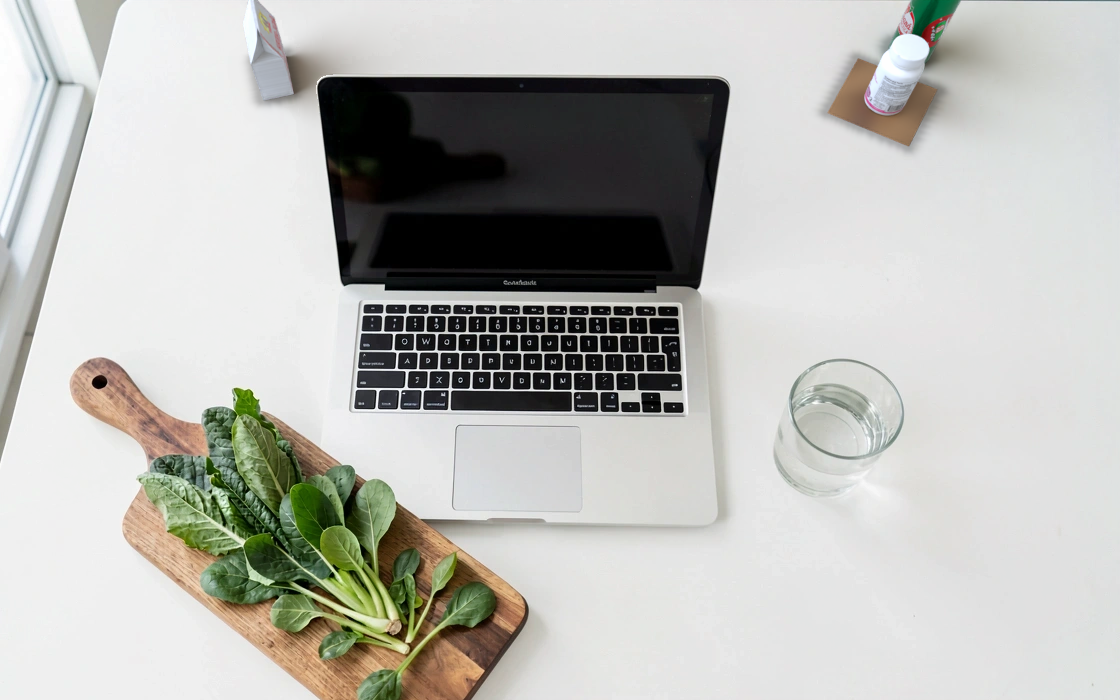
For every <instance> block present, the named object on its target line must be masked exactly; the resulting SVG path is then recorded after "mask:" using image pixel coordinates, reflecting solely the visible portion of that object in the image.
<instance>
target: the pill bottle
mask: <svg viewBox="0 0 1120 700" xmlns="http://www.w3.org/2000/svg"><path fill="white" fill-rule="evenodd" d="M928 54H929V45H928V44H927V42H926V41H925V40H924V39H923V38H921V37H919V36H917V35H913V34H903V35H900V36H898V37H897V38H896V39H895V40H894V41H893V43H892V45H891V47H890V49H889V50H888V49H887V51H885V52H884V53H883V55H882V56H881V58H880V60H879V63H878V64H877V66H878V67H877V69H876V71H875V73H874V75H873V77H872V80H871V82H870V84H869V86H868V88H867V90H866V93H865V97H864V98H865V103H866V105H867V106H868V107H869V108H870V109H871V110H872V111H874V112H876V113H878V114H881V115H886V116H889V115H894V114H897V113H899V112H900V111H901V110H902V109H903V108H904V106H905V104H906V102H907V100H908V98H909V96H910V95H911V93H912V91H913V89H914V87H915V85H916V84H917V82H919V80H920V78H921V77H922V75H923V72H924V70H925V67H926V66H925V65H926V63H925V64H924V62H925V60H926V58H927V56H928Z"/></svg>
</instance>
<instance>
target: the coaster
mask: <svg viewBox="0 0 1120 700" xmlns="http://www.w3.org/2000/svg"><path fill="white" fill-rule="evenodd" d="M877 67H878V64H875V63H871V62H869V61H866V60H864V59H862V58H857V59H856V61H855V62H854V64H853V66H852V67H851V70H850V72H849V73H848V75H847V77H846V79H845V80H844V83H843V84H842V86H841V87H840V89H839V91H838V93H837V95H836V96H835V98H834V100H833V102H832V103H831V106H830V107H829V109H828V111H827V113H826V114H827V115H830V116H833V117H836V118H838V119H841V120H843V121H845V122H848V123H850V124H853V125H854V126H855V125H856V126H858V127H860V128H862V129H865V130H867V131H870V132H872V133H876V134H877V135H880V136H882V137H885V138H886V139H889V140H892V141H894V142H896V143H899V144H901V145H904V146H906V147H910V145H911V143H912V141H913V139H914V137H915V135H916V133H917V131H918V129H919V127H920V125H921V123H922V121H923V119H924V117H925V116H926V113H927V111H928V109H929V107H930V105H931V103H932V101H933V100H934V97H935V95H936V93H937V91H938V89H937V88H936V87H932V86H930V85H928V84H925V83H922V82H920V81H918V82H917V84H916V85H915V87H914V89H913V91H912V93H911V95H910V96H909V98H908V100H907V102H906V104H905V106H904V108H903V109H902V110H901V111H900V112H899V113H897V114H894V115H889V116H886V115H881V114H878V113H876V112H874V111H872V110H871V109H870V108H869V107H868V106H867V105H866V103H865V98H864V97H865V93H866V90H867V88H868V86H869V84H870V82H871V80H872V77H873V75H874V73H875V71H876V69H877Z"/></svg>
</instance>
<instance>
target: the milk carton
mask: <svg viewBox="0 0 1120 700" xmlns="http://www.w3.org/2000/svg"><path fill="white" fill-rule="evenodd" d="M242 26H243V31H244V36H245V42H246V47H247V52H248V57H249V63H250V67H251V70H252V73H253V75H254V78H255V81H256V85H257V87H258V89H259V92H260V96H261V98H262V101H268V100H272V99H278V98H282V97H283V98H284V97H288V96H292V95H294V94H295V92H294V87H293V84H292V83H293V82H292V78H291V73H290V69H289V64H288V59H287V54H286V51H285V48H284V44H283V41H282V38H281V34H280V31H279V28H278V25H277V21H276V18H275V16H274V15H273V14H272V13H271V12H270V11H269V10H268V9H267V8H266V7H265V6H264V5H263V4H262V3H261V2H260V1H259V0H247V6H246V10H245V13H244V18H243V21H242Z"/></svg>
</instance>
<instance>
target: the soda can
mask: <svg viewBox="0 0 1120 700" xmlns="http://www.w3.org/2000/svg"><path fill="white" fill-rule="evenodd" d="M961 2H962V0H909V2H908V4H907V6H906V8H905V10H904V12H903V14H902V17H901V19H900V20H899V22H898V25H897V28H896V29H895V30H894V34H893V35H892V38H891V40H890V41H889V45H888V48H887V51H888V50H889V49H890V47H891V45H892V43H893V41H894V40H895V39H896V38H897V37H898V36H900V35H903V34H913V35H917V36H919V37H921V38H923V39H924V40H925V41H926V42H927V44H928V45H929V54H928V56H927V58H926V60H925V62H924V64H925V65H926V64H927V63H928V62H929V60H930V59H931V58H932V55H933V53H934V52H935V49H936V48H937V46H938V44H939V42H940V40H941V39H942V37H943V36H944V33H945V31H946V29H947V28H948V26H949V24H950V23H951V20H952V18H953V17H954V15H955V13H956V11H957V9H958V7H959V6H960V4H961Z"/></svg>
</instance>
